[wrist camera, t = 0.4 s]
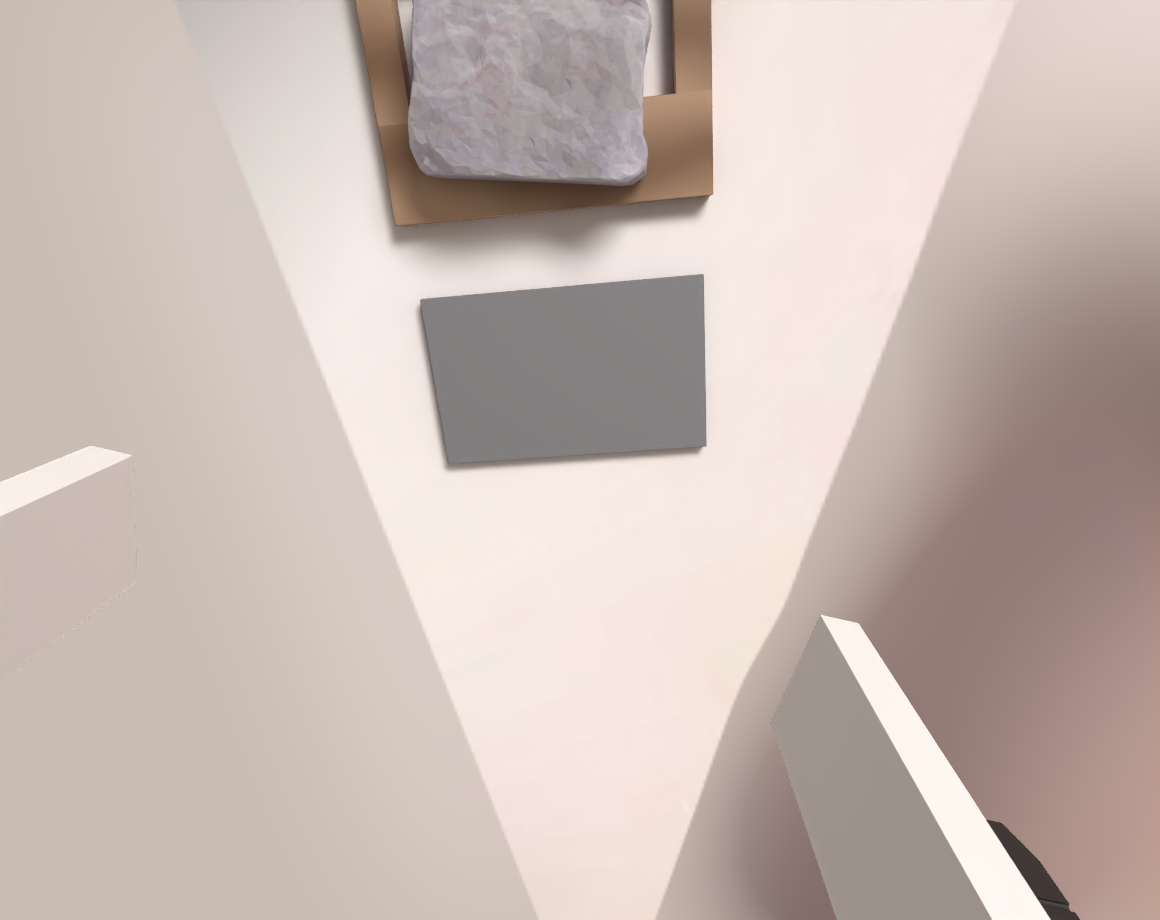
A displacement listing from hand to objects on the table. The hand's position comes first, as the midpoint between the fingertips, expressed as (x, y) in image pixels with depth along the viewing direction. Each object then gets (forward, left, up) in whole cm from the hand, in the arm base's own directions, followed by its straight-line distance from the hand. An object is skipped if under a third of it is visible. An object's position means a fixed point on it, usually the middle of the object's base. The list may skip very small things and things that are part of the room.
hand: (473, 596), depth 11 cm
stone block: (-14, 0, -26) cm, 29 cm away
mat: (+1, 0, -25) cm, 25 cm away
